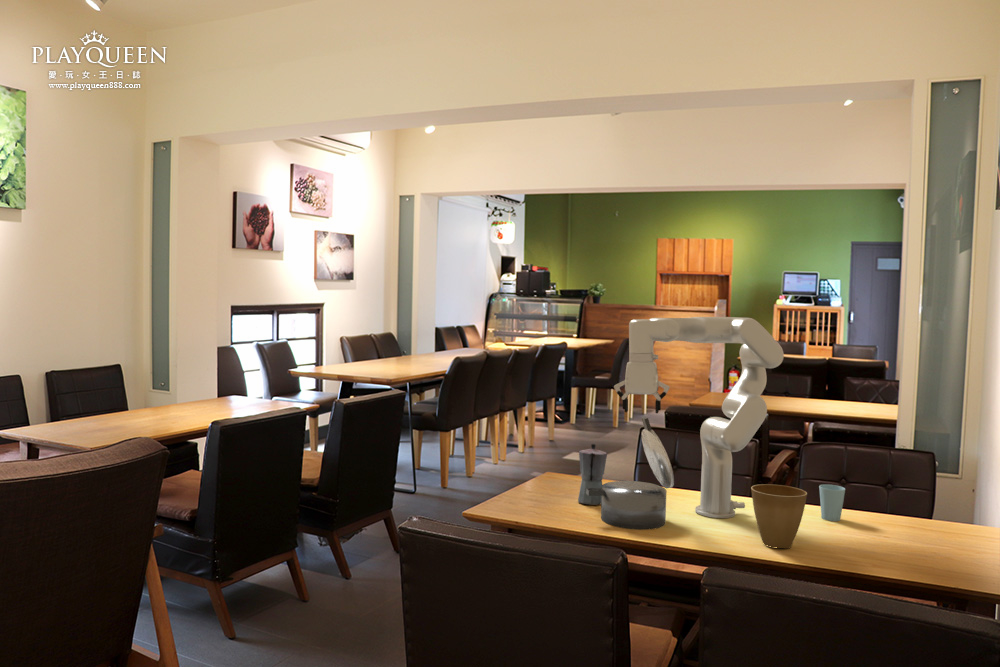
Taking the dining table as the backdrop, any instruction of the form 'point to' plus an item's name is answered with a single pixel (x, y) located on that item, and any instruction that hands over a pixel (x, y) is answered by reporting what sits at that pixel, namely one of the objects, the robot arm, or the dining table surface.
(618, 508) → the cooker pot
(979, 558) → the dining table surface
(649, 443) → the cooker lid
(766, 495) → the plant pot
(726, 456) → the robot arm
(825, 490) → the cup
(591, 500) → the moka pot
